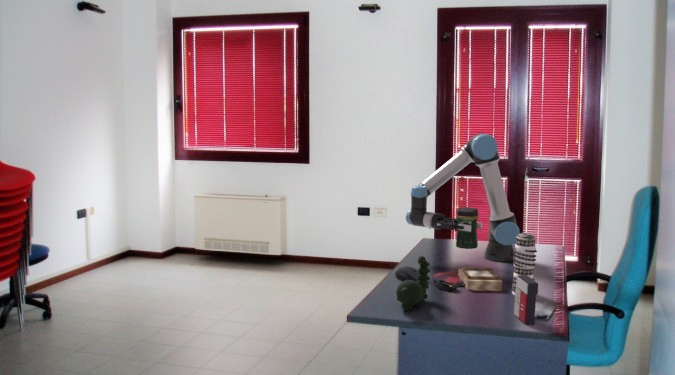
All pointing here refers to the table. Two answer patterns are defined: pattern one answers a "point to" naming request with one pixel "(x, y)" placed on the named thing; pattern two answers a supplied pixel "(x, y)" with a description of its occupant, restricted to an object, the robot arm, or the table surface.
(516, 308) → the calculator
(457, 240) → the coffee jar
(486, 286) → the light brown wooden box
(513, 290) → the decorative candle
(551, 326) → the table surface
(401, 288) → the toy figurine
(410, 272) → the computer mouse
